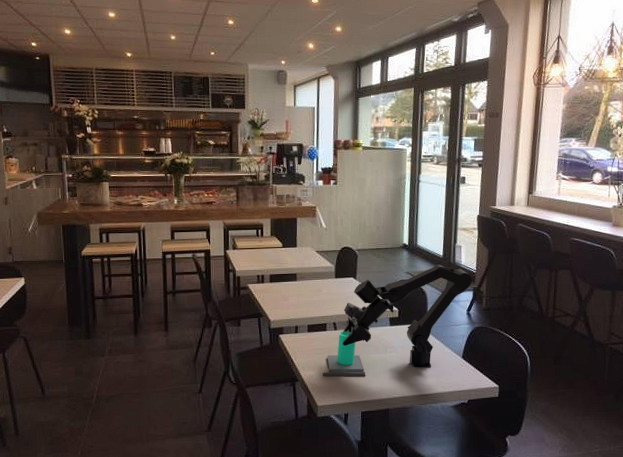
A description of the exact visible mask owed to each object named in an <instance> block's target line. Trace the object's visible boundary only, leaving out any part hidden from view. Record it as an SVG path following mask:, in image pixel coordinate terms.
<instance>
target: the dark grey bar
mask: <svg viewBox="0 0 623 457" xmlns="http://www.w3.org/2000/svg"><path fill="white" fill-rule="evenodd" d="M322 376H323V377H366V372H365V371H364V372H330V371H326V372H325V371H324V372H322Z"/></svg>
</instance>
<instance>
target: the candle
mask: <svg viewBox="0 0 623 457" xmlns="http://www.w3.org/2000/svg"><path fill="white" fill-rule="evenodd" d="M350 333H351V332H349V331H345V332H343V331H341V332H340V333H339V336H338V347H337V355H338V358H337V361H338V363H340V364H343V365H351V364H353V363H354V355H355V352H356V342H355V343H352V344H349V345H346V346H344V345H343V342H344V341H345V339H346V338H347V337H348V336H349V334H350Z"/></svg>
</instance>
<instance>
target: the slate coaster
mask: <svg viewBox="0 0 623 457" xmlns="http://www.w3.org/2000/svg"><path fill="white" fill-rule="evenodd" d="M326 357H327V362H328V363H327V365H328V369H329V372H365V369H364V365H363V363H362V359H361V357H360V354H359V355H358V354H357V355H356V354H354V363H353V364H351V365H343V364H340V363H338V361H337V358H338V354H337V355H336V354H335V355H331V354H330V355H328V354H327V356H326Z"/></svg>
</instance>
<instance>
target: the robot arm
mask: <svg viewBox="0 0 623 457" xmlns="http://www.w3.org/2000/svg"><path fill="white" fill-rule="evenodd" d="M440 279H444V280H446V285H445V288H444V289H443V291H442V292H441V294H440V295H439V296H438V298H437V299H436V300H435V301H434V302H433V304H432V305H431V307H430V308H429V309H428V310H427V312H426V313H425V314H424V315H423V317H422V318H421V319H419V320H416V319H413V320H412V322H411V324H410V325H409V326H407V331H406V337H407V338H408V339H409V341H410V342H411V345H412V346H411V349H410V351H409V361H410V363H411V364H412V367H413V368H421V367H422V368H423V367H424V368H431V367H432V364H431V355H432V354H431V353H432V350H433V348H434V346H433V345H432V344H431V342H430V341H429V338H430V336H431V333H432V329H433V327H434V326H435V324H436V323H437V322H438V320H439V319H440V318H441V316H442V315H443V314H444V313H445V311H446V310H447V309H448V307H449V306H450V305H451V303H452V302H453V301H454V299H455V298H456V297H458V296H459V295H461V294H462V293H464V292H465V291H467V290H468V289H469V288H470V287H471V285H472V283H473V279H472V276H471V275H470V274H469V273H468V272H466V270H463V269H461V268H458V269H453V268H452V267H451V268H450V267H446V266H444V265H441V264H436V265H434V266H433V267H431V268H429V269H427V270H424V271H422V272H421V273H420V272H419V273H418V274H416V275H413V276H412V277H409V278H407V279H405V280H399V281H398V280H397V281H394V282H391V283H390V282H389V283H387V284H386V285H385V286H377V287H376V286H375V285H374V284H373V283H372V282H371V280H369V279H366V280H365V281H363V282H361V283H359V284H358V285H357V286H356V287H355V289H354V291H353V293H354V294H355V295H356V296H357V297H358V298H359V299H360V301H362V302H363V303H364V304H368V305H367V306H362V308H361V307H359V306H357V305H355V304H352V303H350V302H347V303H346V305H345V307H344V309H343V311H344V313H345V315H347V316H348V317H347V324H346V326H345V328H344V330H343V331H342V332H345V331H349V332H351V333H350V334H349V336H348V337H347V338H346V339H345V341H344V342H343V345H344V346H346V345H349V344H352V343H355V344H356V343H358V342H362V341H363V342H364V341H365V342H366V343H368V342H369V341H370V340H371V338H372V335H371V333H370V327H371V326H372V325H374V323H376V324H377V323H378V322H379V318H380V317H381V316H382V315H384V314H385V313H386V312H387V311H388V310H389V311H390V312H391V313H394V312H395V311H394V306H395V305H394V304H397V303H399V302H401V301H402V300H404V299H406V297H408V295H409V294H410V293H412V292H413V291H417V290H418V289H420V288H422V287H425V286H427V285H428V284H431V283H433V282H435V281H437V280H440Z"/></svg>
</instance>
